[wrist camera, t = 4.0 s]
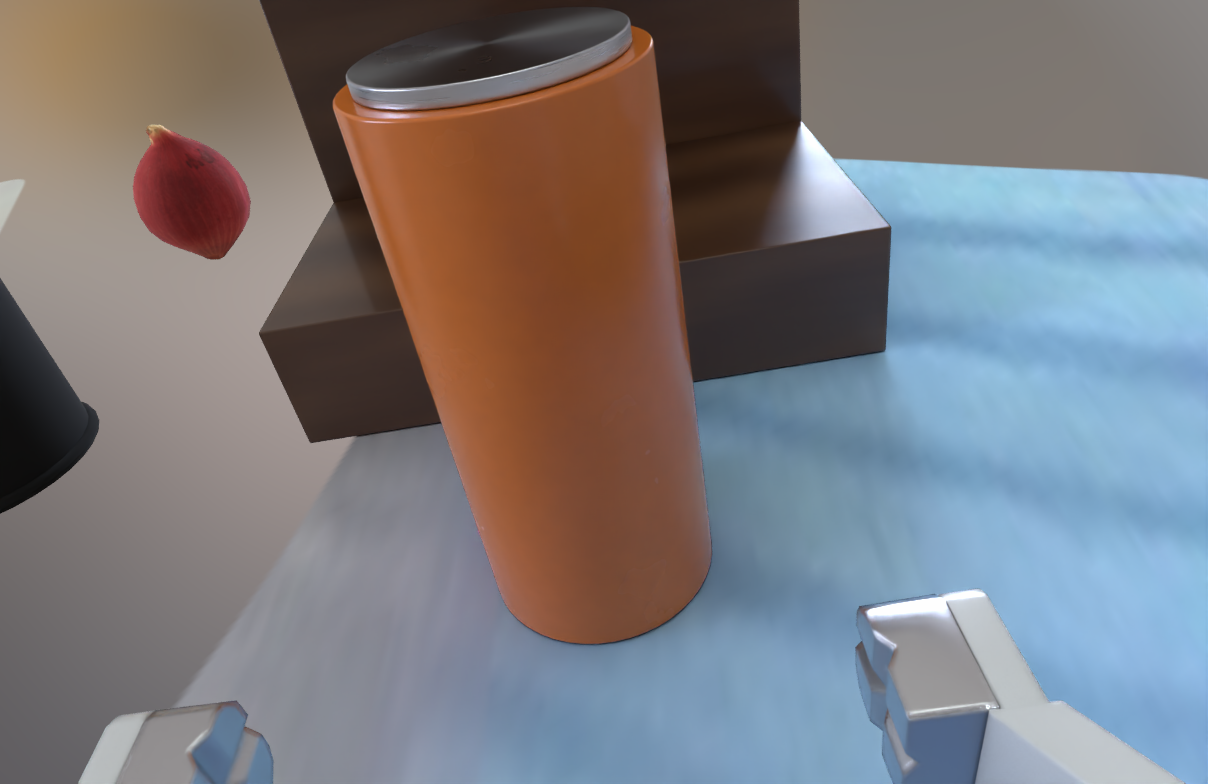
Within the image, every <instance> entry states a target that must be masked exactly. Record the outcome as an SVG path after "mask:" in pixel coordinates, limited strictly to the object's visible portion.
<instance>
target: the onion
mask: <svg viewBox="0 0 1208 784" xmlns="http://www.w3.org/2000/svg"><path fill="white" fill-rule="evenodd" d="M146 133H147V134H148V135H149V138H150V141H151V145H150V147H149V148H148V150H147V151H146V153H145V154H144V156H143V158H142V159H141V161H140V163H139V165H138V167H137V170H136V173H135V177H134V185H133V192H134V200H135V204H136V207H137V210H138V213H139V215H140V218H141V219H142V221H143V222H144V223H145V225H146V227H147V228H148V229H149V231H150V232H151V233H153V234H154V235H155V236H157V237H158V238H159V239H161V240H162V241H164V242H166V243H168V244H171V245H173V246H175V247H178V248H181V249H184V250H187V251H190V252H193V253H195V254H198V255H201V256H203V257H205V258H207V259H220V258H222V257H224V256H225V255H226V253H227V252H228V251H229V249H230V248H231V247H232V246H233V244H234V243H235V241H236V240H237V238H238V237H239V235H240V234H241V232H242V231H243V229H244V227H245V225H246V222H247V220H248V218H249V214H250V202H251V201H250V198H249V194H248V190H247V186H246V184H245V183H244V181H243V180H242V178H241V176H240V175H239V173H238V172H237V171H236V169H235V168H234V167H233V166H232V165H231V164H230V162H229V161H228V160H227V159H226V158H225V157H223V156H222V155H221V154H219V153H218V152H217V151H215V150H214V149H212V148H210V147H208V146H206V145H204V144H202V143H200V142H198V141H195V140H192V139H189V138H185V137H183V136H181V135H179V134H177V133H175V132H172V131H170V130H168V129H166V128H164V127H163V126H162V125H149V126H147V130H146Z"/></svg>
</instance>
